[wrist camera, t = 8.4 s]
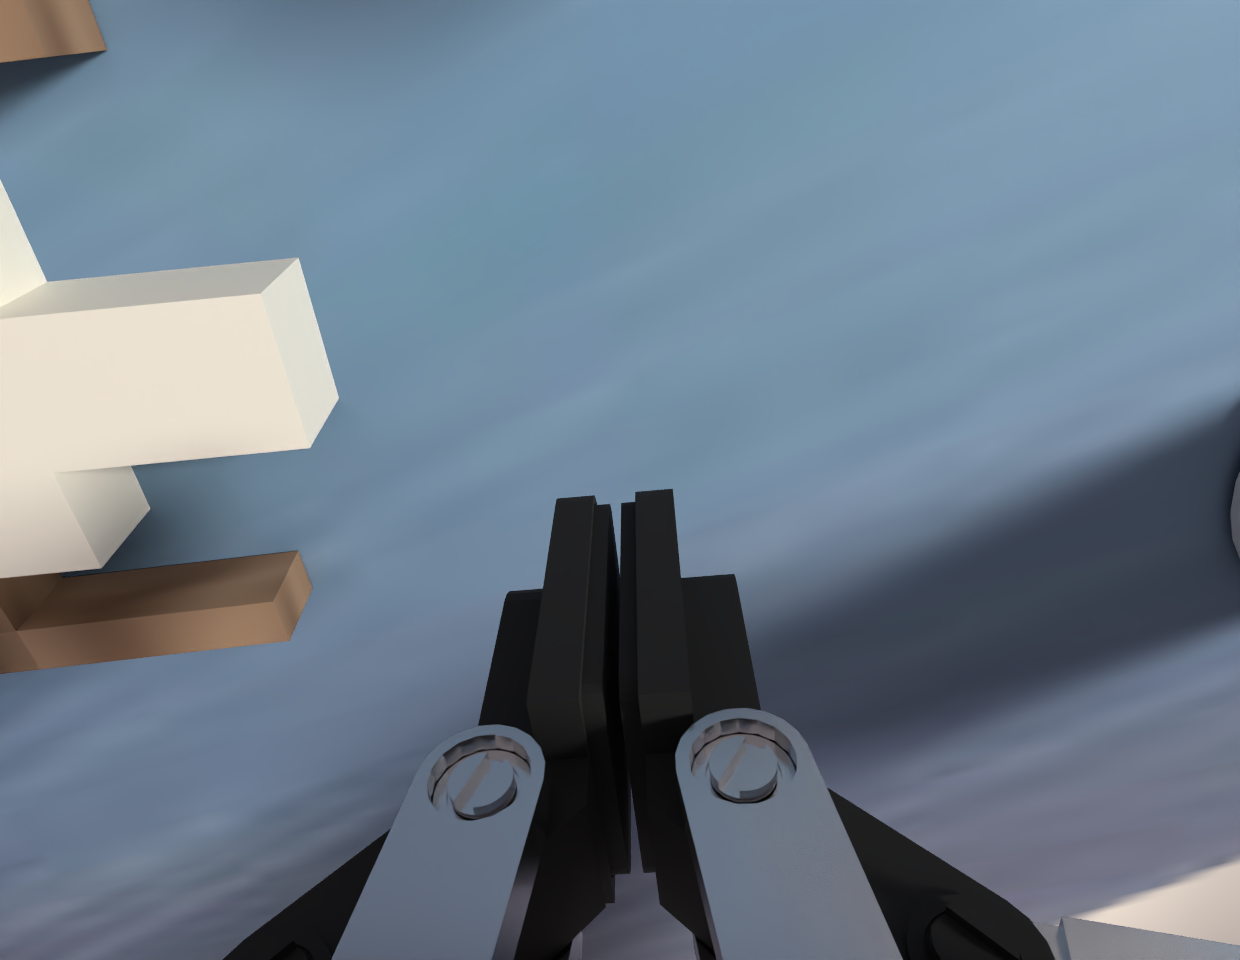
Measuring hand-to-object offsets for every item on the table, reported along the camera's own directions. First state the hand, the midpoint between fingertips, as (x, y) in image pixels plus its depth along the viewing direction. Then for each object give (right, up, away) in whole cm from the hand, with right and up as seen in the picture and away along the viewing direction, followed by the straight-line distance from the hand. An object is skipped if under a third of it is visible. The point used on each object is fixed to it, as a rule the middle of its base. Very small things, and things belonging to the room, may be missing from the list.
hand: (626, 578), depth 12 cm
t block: (-13, +5, +10) cm, 17 cm away
